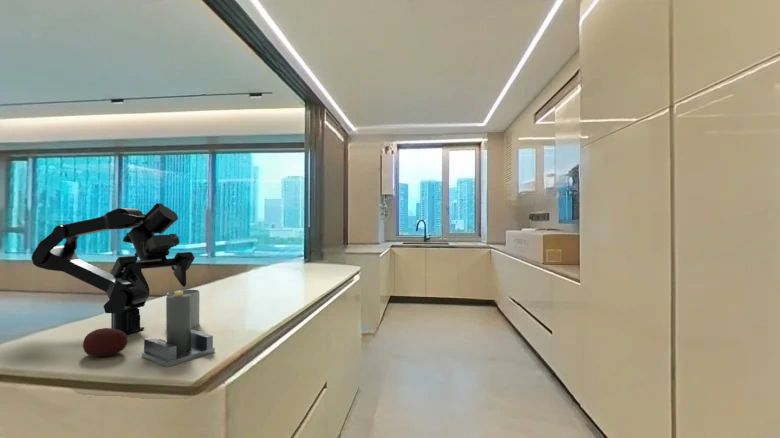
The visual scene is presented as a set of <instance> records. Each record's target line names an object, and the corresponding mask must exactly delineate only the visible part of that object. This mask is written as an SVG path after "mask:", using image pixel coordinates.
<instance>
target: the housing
mask: <svg viewBox="0 0 780 438" xmlns="http://www.w3.org/2000/svg"><path fill="white" fill-rule="evenodd" d="M213 340H214V335H212V334H208V333H206V332H202V331H198V330H195V329H191V349H190V350H188V351H186V352H182V353H176V346H175V345H173V344H170V343H167V342H164V341H161V340H158V338H155V337H152V336H151V337H146V338H143V341H144V342H143V346H144V347H143V351H142V352H141V358H143V359H146V360H148V361H151V362H152V363H153V362H154V363H155V364H158V365H160V366H163V367H164V368H165V367H166V368H169V367H172V366H174V365H175V366H176V365H178V364H181V363H184V362H187V361H191V360H193V359H196V358H200V357H203V356H205V355H206V356H207V355H210V354H213V353H215V352H216V348H215V346H213V345H214V343H213V342H214V341H213ZM212 352H213V353H212Z"/></svg>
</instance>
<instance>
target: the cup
mask: <svg viewBox="0 0 780 438" xmlns="http://www.w3.org/2000/svg"><path fill="white" fill-rule="evenodd" d="M175 291H176V290H172V291H169V292H167V293H166V297H168V296H172V295H174V292H175ZM177 291H183V294H188V295H191V329H192V328H196V327H198V326H199V325H200V290H199V289H178V290H177Z"/></svg>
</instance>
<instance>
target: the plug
mask: <svg viewBox="0 0 780 438" xmlns="http://www.w3.org/2000/svg"><path fill="white" fill-rule="evenodd" d="M174 291H175V292H174V295H172V296H168V297H167V296H166V298H165V300H166V301H165V306H166V307H165V311H166V312H165V313H166V315H165V317H166V318H165V319H166V323H165V324H166V325H165V326H166V340H165V339H162V338H159V339H158V338H157V339H158V340H161V341H164V342H167V343H170V344H173V345H175V346H176V353H182V352H186V351H188V350H190V349H191V330H192V328H191V295H188V294H183V291H178V290H174Z"/></svg>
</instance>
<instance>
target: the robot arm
mask: <svg viewBox="0 0 780 438" xmlns="http://www.w3.org/2000/svg"><path fill="white" fill-rule="evenodd" d="M178 219H179V217H178V214H177V213H176V212H175V211H173V210H172V209H171V208H170V207H167V206H165V205H164V203H160V202H159V203H157V202H156V203H155V204H154V205H153V207H152V208H151V209H150V210H149V211H147V213H143V212H142V210H140V209H139V208H124V207H121V208H120V207H119V208H118V207H117V208H115V209H112V210H110V211H108V212H106V213H105V214H104V215H102V216H98V217H95V218H90V219H85V220H84V219H83V220H80V221H75V222H71V223H67V224H66V223H65V224H59V225H56V226H55V227H54V228H53V230H52V231H51V233H50V234H48V235H47V236H45V238H43V239H42V240H40V242H39V243H38V244H37V246H36V247H35V249H34V251H33V252H32V254H31V261H32V264H33V266H35V267H37V268H39V269H43V270H46V271H54V272H56V271H57V272H62V273H64V274H67V275H69V276H71V277H73V278H75V279H77V280H79V281H82V282H84V283H85V284H88V285H90V286H92V287H94V288H97V289H98V290H101V291H103V292H105V294H106V296H107V297H108V300H107V302H106V303H105V304H104V305H103V309H104V312H105V313H106V314H111V321H110V323H111V325H110V328H112V329H117V330H121V331H123V332H124V333H125V334H126V335H127V336H128V335H130V334H133V333H136V332H139V331H142V330H144V329H145V326H144V327H143V326H141V314H140V308H141V307H142V308H143V307H144V306H145V305H146V302H147V300H148V299H149V297H150V287H149V284H148V282H147V279H146V277H145V275H144V274H143V271H142V270H143V269H145V270H146V269H157V268H158V269H159V268H168V267H171V270H172V271H173V275H174V277H175V278H176V280H177V281H178V283H179V284H180V285H181V286H182V287H186V286H187V271H188V270H189V268H190V267H191V265H192V263H193V262H194V261H195V258H196V257H195V255H194V253H193V252H192V251H181V252H176V254H175V255H174V257H173V258H167V256H169V255H170V253H171V252H170V249H172V248H174V247H177V246H178V245H179V244H180V239H179V238H180V237H179V236H178V235H177V233H169V234H164V233H165V232H166V231H167V230H168V229H169V228H170V227H172V225H173V224H175V223H176V222H177V221H179V220H178ZM111 230H130V231H128V232H127V233H126V235H125V236H124V237H123V240H122V242H124V243H128V244H132V245H133V248H134V250H135V253H134V255H126V256H125V255H124V256H118V257H117V259H116V260H115V262H114V265H113V266H112V268H111V273H110V272H108V271H105V270H103V269H102V268H99V267H97V266H94V265H92V264H90V263H89V262H87V261H84V260H83V259H81V258H79V257H78V254H77V253H76V252H75V251H76V250H77V249H78V239H79V237H81V236H82V237H83V236H87V235H92V234H96V233H100V232H105V231H111ZM63 240H65V242H64V244H63V245H59V244H60V243H62V241H63Z"/></svg>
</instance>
